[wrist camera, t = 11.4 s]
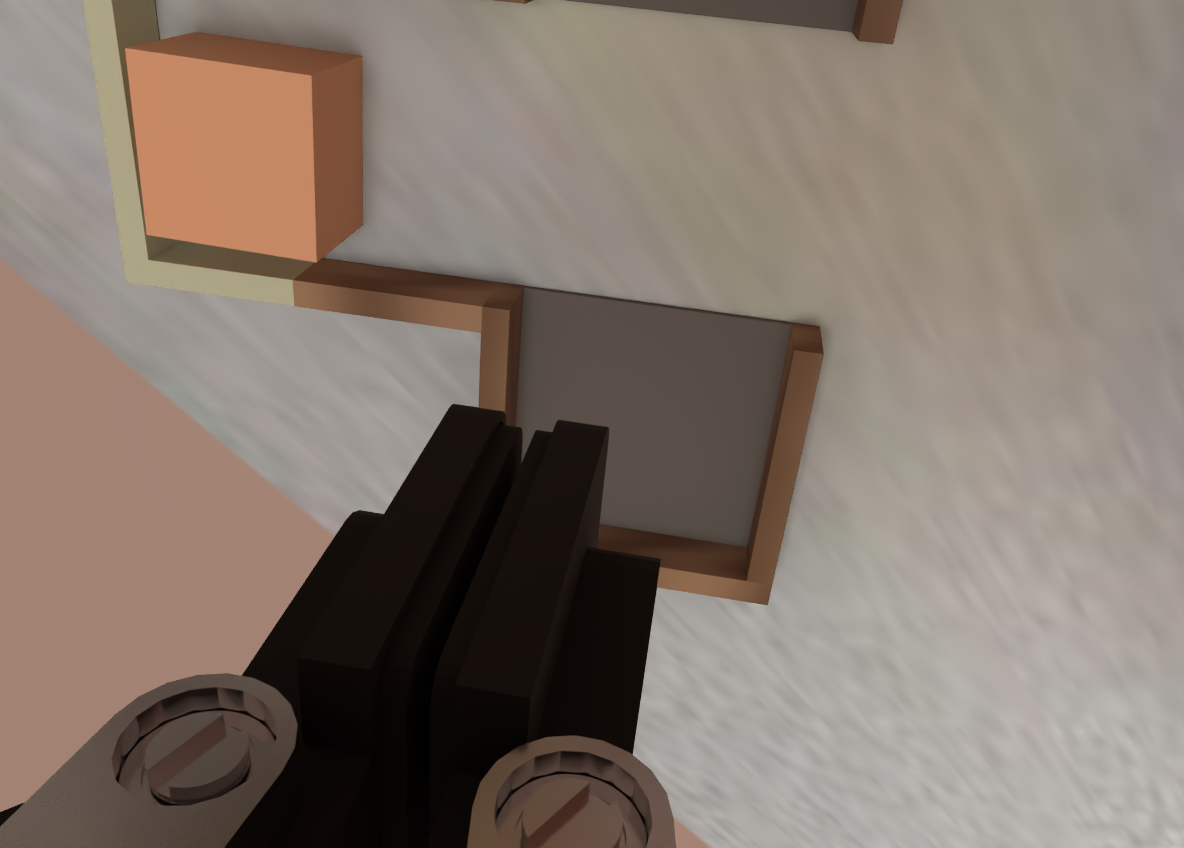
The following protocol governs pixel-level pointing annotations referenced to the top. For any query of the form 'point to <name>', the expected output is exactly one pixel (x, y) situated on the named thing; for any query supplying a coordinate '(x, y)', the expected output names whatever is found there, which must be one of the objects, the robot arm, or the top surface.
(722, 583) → the box
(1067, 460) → the top surface
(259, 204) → the block
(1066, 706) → the top surface
